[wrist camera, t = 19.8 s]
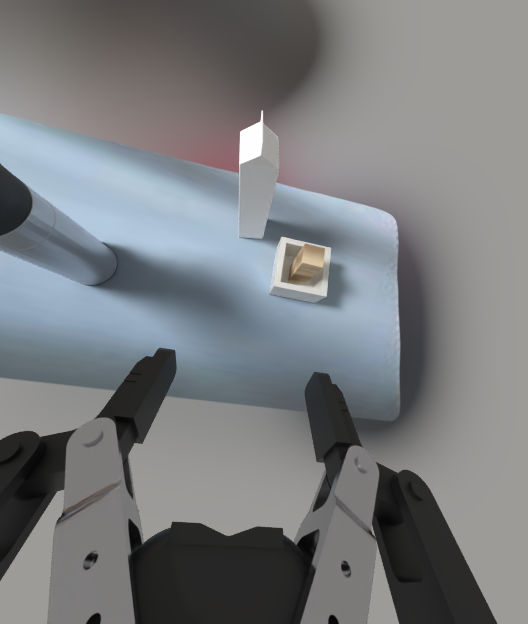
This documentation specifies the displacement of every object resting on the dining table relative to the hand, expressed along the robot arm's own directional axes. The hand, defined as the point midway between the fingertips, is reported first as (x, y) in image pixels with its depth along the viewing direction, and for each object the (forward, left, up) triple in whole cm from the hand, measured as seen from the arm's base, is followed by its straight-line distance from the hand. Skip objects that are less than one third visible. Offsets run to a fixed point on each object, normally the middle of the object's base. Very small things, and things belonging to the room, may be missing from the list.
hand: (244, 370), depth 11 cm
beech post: (-10, +20, -30) cm, 37 cm away
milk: (-26, +16, -31) cm, 43 cm away
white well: (-10, +20, -31) cm, 38 cm away
